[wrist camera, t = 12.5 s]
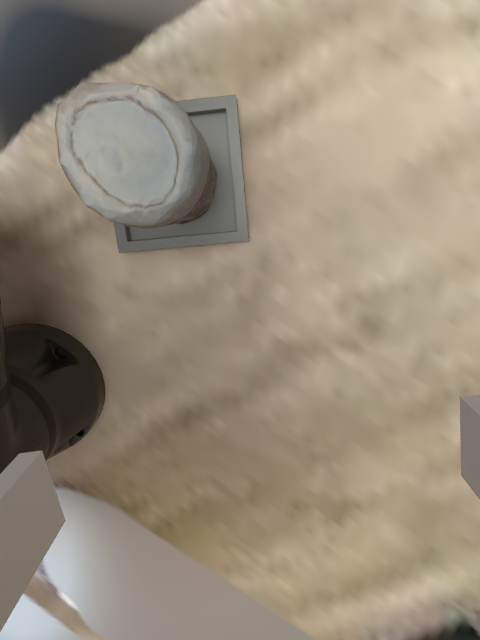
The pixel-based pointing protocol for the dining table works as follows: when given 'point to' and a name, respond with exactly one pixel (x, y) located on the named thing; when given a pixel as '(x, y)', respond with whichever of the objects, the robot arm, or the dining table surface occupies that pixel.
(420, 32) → the dining table surface
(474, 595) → the dining table surface
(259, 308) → the dining table surface
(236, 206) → the tray
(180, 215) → the spray can
